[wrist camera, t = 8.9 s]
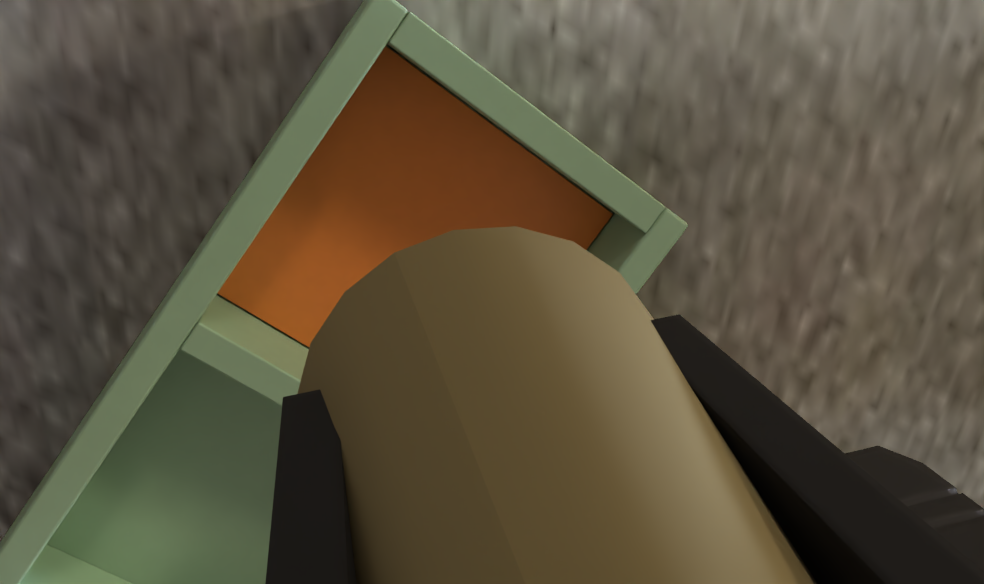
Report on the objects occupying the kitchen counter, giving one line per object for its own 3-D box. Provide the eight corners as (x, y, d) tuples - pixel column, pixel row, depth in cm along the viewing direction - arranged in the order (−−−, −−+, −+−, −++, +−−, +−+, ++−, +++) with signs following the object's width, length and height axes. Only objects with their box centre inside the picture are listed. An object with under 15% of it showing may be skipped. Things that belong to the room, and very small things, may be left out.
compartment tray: (-149, 764, 25) (-208, 860, 22) (370, -11, 21) (378, -13, 19) (147, 866, 28) (128, 963, 25) (647, 200, 24) (690, 225, 22)
